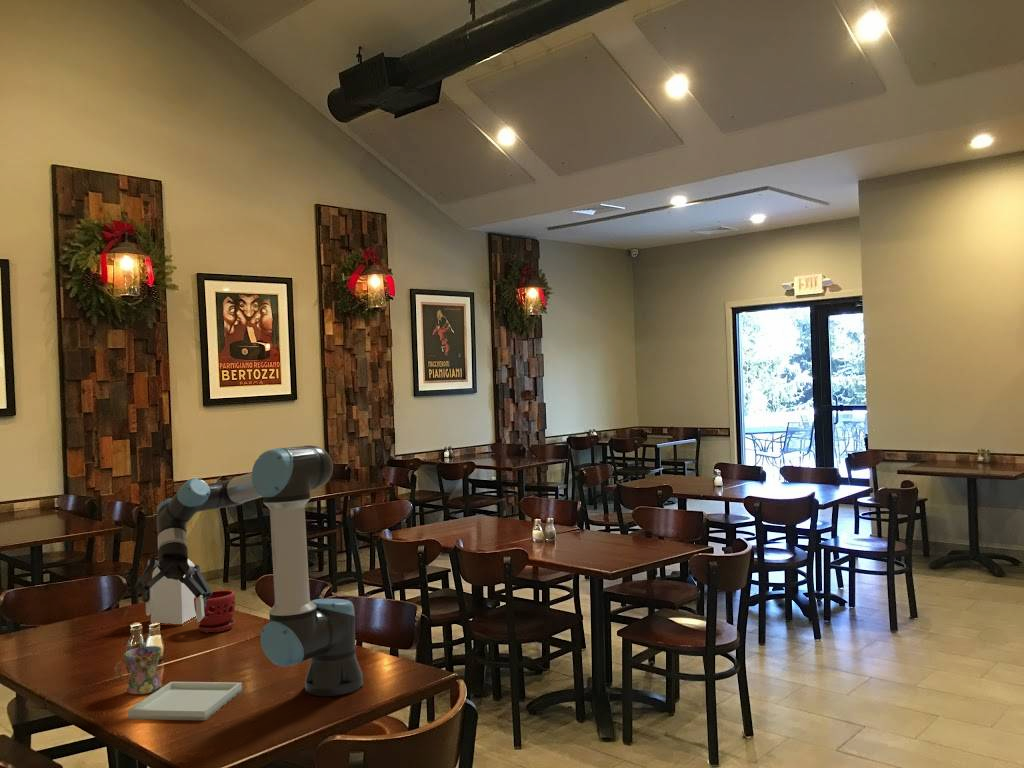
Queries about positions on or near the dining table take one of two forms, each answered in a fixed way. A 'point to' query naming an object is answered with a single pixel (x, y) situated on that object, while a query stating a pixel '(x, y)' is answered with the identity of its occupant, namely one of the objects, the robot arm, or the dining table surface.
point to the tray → (185, 701)
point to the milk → (172, 600)
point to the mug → (142, 669)
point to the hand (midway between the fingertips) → (175, 616)
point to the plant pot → (218, 611)
